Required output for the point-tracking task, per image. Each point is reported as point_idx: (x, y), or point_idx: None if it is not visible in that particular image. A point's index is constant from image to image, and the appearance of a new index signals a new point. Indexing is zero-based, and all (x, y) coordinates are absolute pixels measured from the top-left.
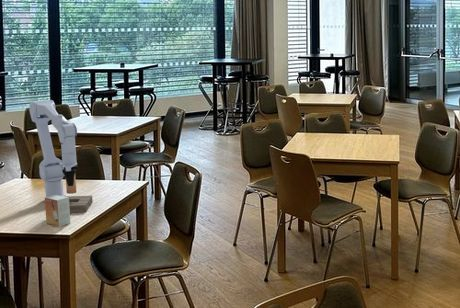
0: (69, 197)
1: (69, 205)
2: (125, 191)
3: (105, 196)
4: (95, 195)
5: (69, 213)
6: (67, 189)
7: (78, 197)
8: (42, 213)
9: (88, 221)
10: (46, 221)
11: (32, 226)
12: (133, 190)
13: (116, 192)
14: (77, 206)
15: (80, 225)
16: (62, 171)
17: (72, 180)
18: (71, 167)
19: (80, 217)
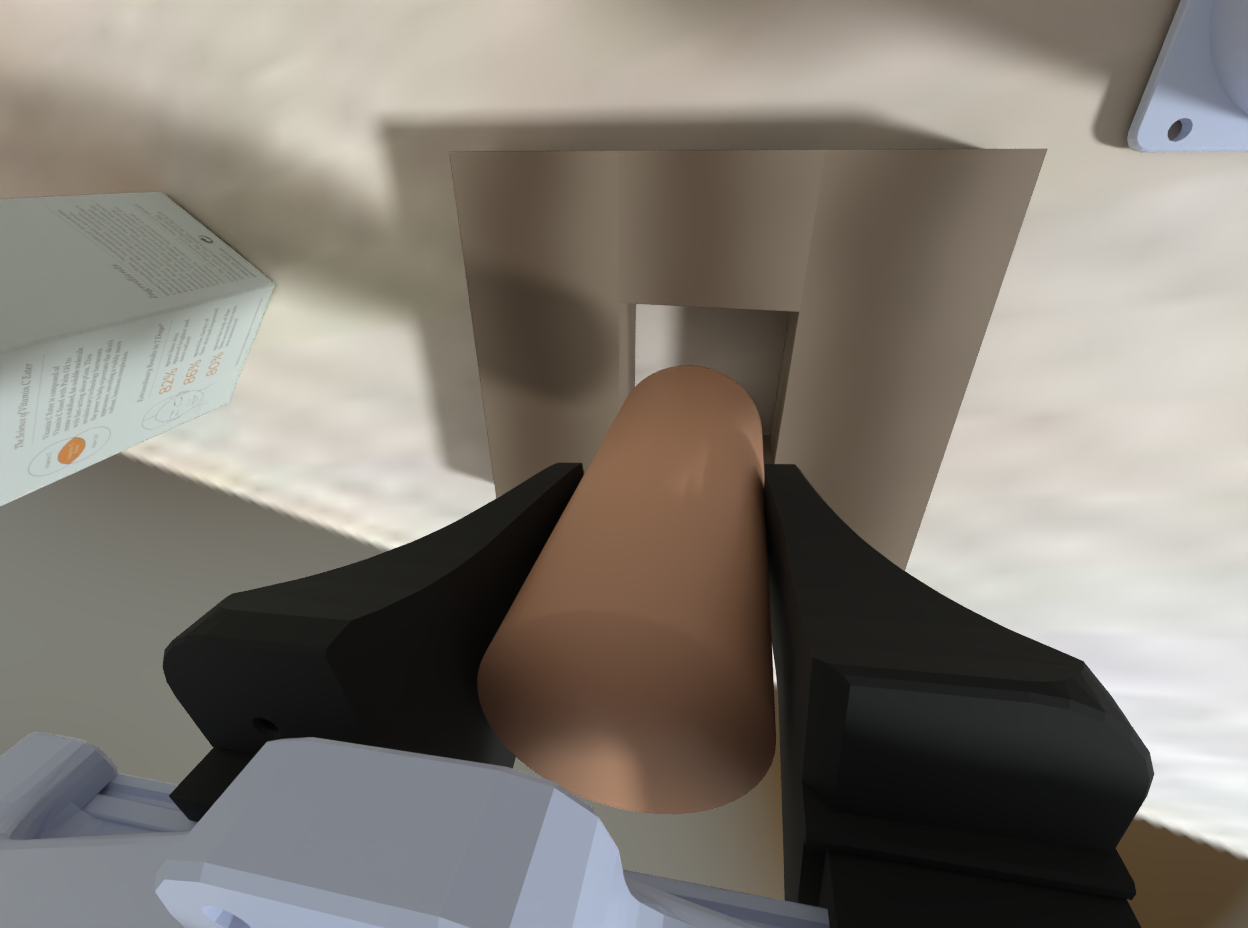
0: (900, 332)
1: (486, 384)
2: (1216, 790)
3: (1094, 642)
4: (1227, 561)
5: (148, 435)
6: (622, 412)
7: (852, 449)
8: (492, 10)
9: (300, 515)
10: (142, 195)
11: (48, 55)
12: (1211, 836)
13: (1230, 732)
14: (496, 456)
15: (209, 472)
16: (207, 612)
17: None
18: (793, 889)
19: (381, 460)
